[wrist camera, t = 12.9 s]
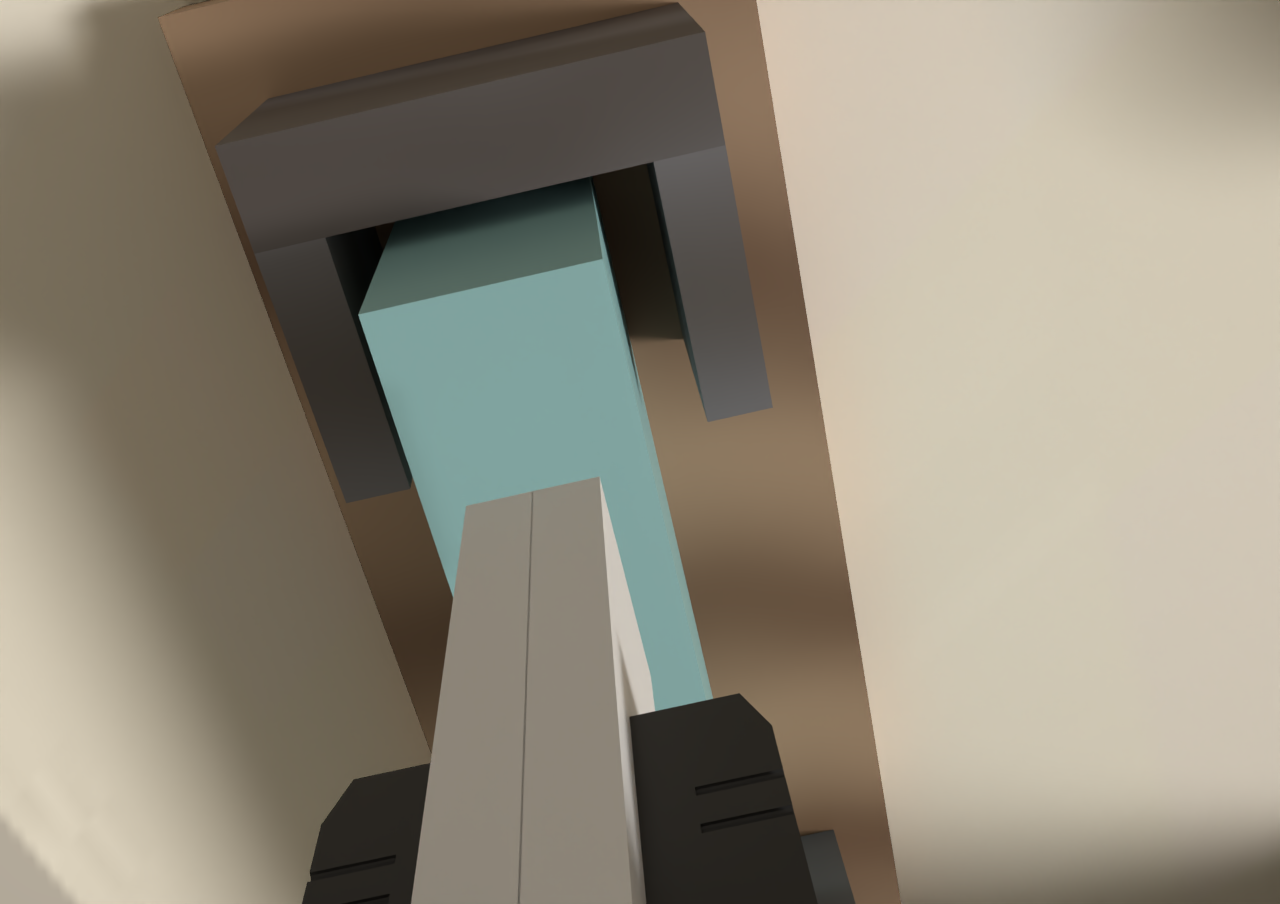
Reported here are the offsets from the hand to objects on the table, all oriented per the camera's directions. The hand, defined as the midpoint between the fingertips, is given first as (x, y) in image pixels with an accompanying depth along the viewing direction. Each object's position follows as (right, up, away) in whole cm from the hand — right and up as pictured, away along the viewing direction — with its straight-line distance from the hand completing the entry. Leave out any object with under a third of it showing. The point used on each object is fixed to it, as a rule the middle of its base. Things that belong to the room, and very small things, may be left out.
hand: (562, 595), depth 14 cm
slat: (0, -2, +10) cm, 10 cm away
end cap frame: (+1, -1, +12) cm, 12 cm away
